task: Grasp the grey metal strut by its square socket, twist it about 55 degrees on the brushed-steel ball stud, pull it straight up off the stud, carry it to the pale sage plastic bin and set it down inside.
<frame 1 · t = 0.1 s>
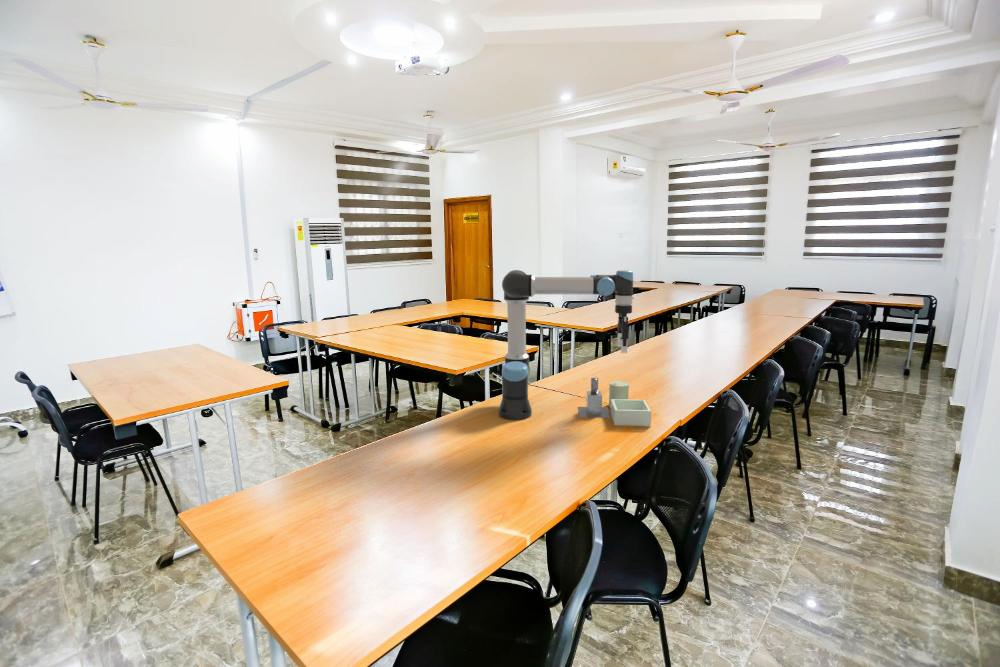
hand: (622, 349, 230), 28 cm above the table, fingers open, 13 cm apart
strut: (593, 412, 228), resting on stud plate
can: (618, 407, 236), on the table
bin: (629, 420, 219), on the table
stud plate: (593, 412, 228), on the table
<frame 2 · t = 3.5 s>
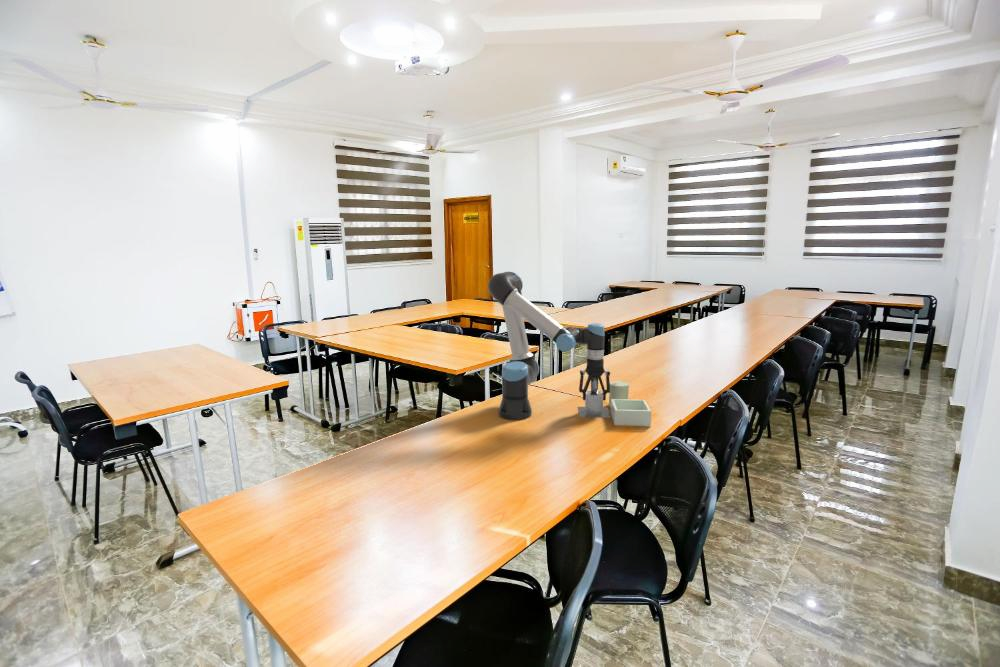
hand: (593, 406, 227), 3 cm above the table, fingers closed on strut, 6 cm apart
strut: (593, 412, 228), resting on stud plate, touching gripper
everything else where it was.
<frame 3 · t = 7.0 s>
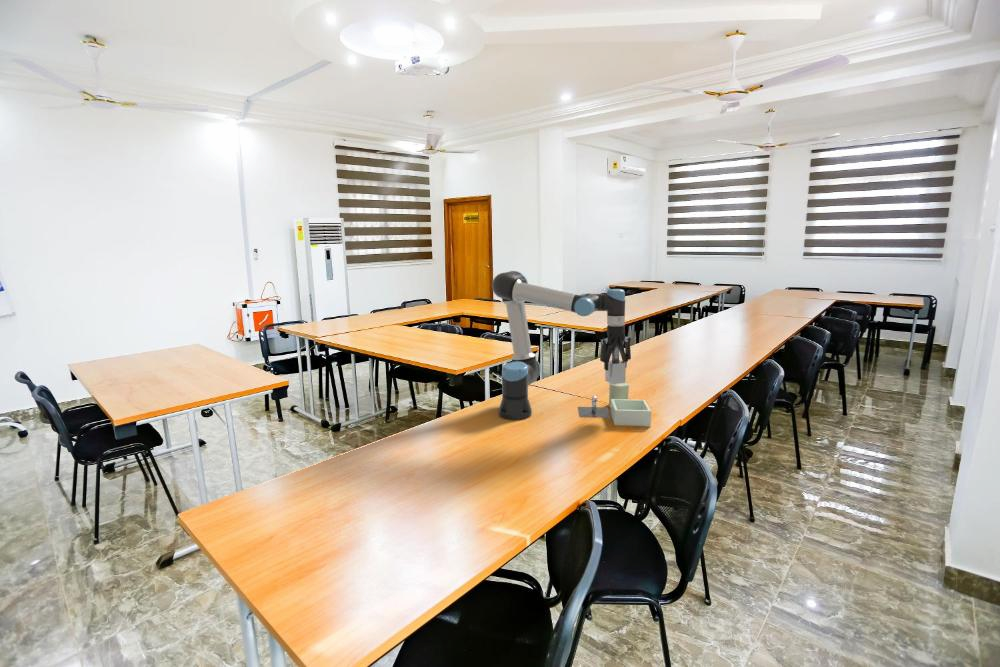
hand: (615, 376, 219), 19 cm above the table, fingers closed on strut, 6 cm apart
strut: (615, 381, 220), point 16 cm above the table, touching gripper
everything else where it was.
when the fingers open (6 cm above the table, at t = 10.4 s): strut drops 2 cm, resting on bin.
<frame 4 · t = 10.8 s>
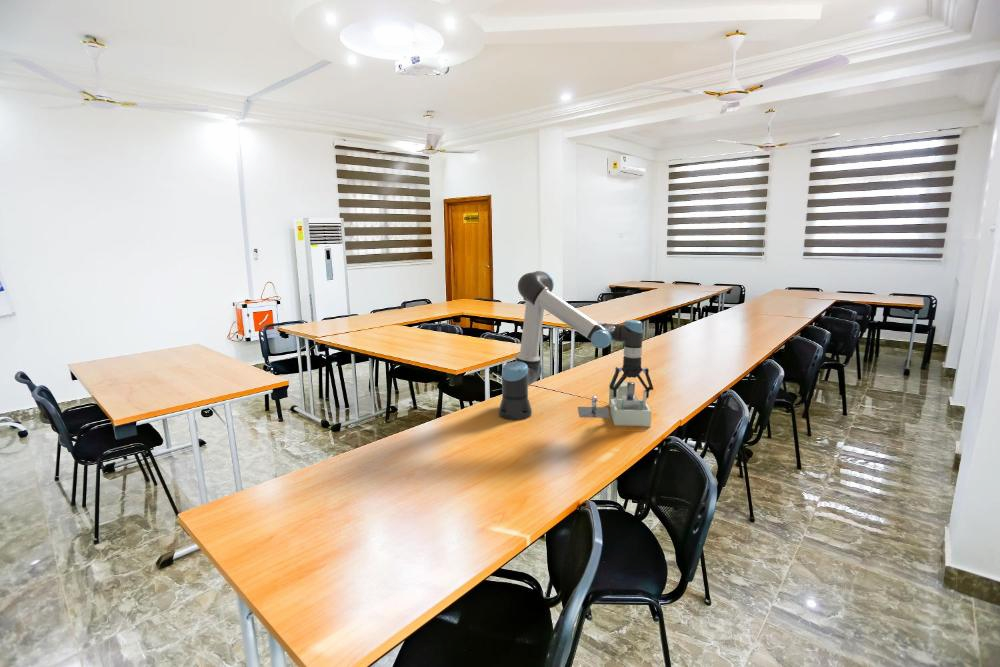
hand: (630, 404, 217), 7 cm above the table, fingers open, 11 cm apart
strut: (629, 417, 218), point 1 cm above the table, touching bin
everything else where it was.
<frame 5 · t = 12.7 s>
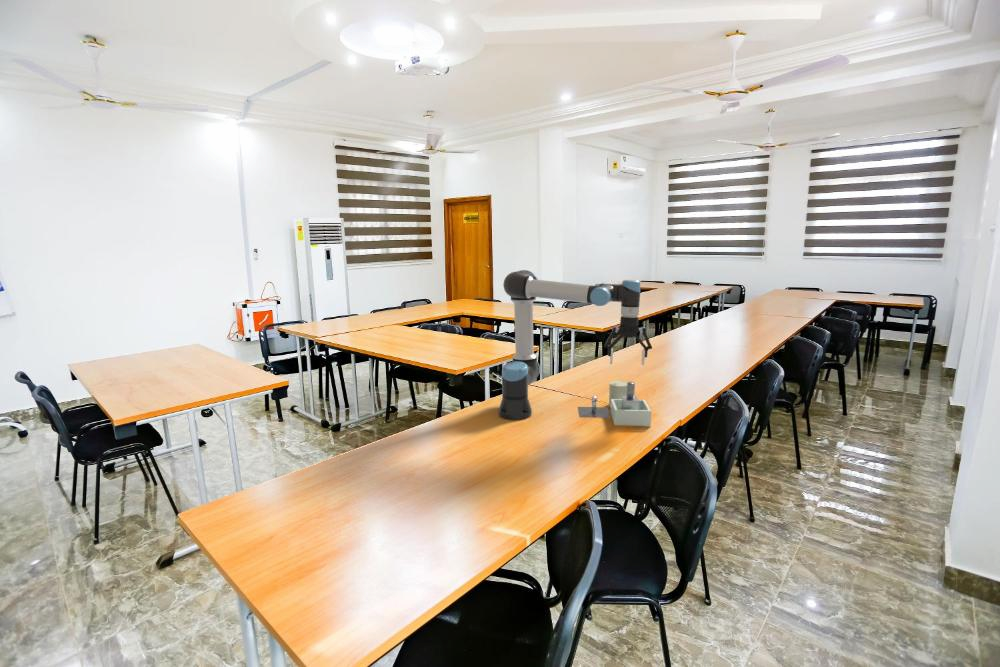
hand: (626, 363, 217), 25 cm above the table, fingers open, 13 cm apart
nothing on the table moved.
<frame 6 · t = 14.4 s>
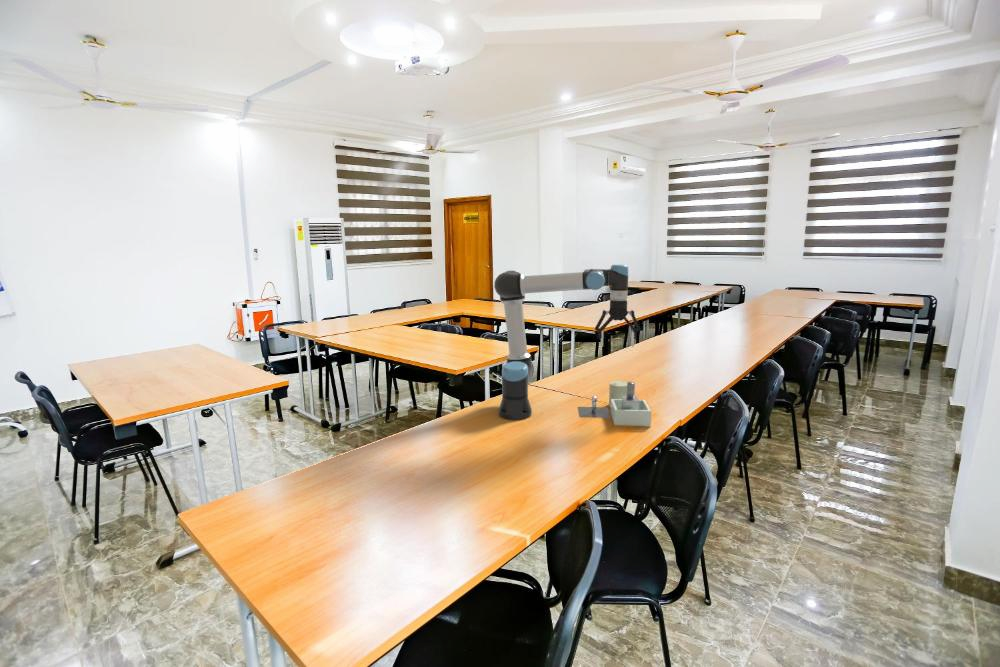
hand: (617, 346, 225), 31 cm above the table, fingers open, 13 cm apart
nothing on the table moved.
at the end: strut inside the target area on the bin (0.1 cm from its centre), point 1.0 cm above the bin's base; the gripper is holding nothing; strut touching bin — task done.
